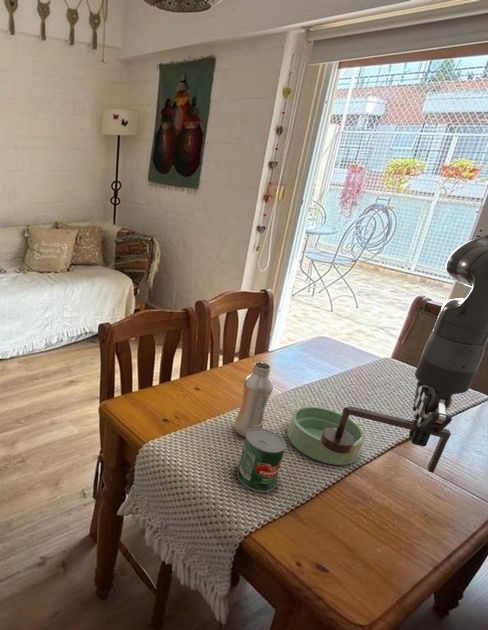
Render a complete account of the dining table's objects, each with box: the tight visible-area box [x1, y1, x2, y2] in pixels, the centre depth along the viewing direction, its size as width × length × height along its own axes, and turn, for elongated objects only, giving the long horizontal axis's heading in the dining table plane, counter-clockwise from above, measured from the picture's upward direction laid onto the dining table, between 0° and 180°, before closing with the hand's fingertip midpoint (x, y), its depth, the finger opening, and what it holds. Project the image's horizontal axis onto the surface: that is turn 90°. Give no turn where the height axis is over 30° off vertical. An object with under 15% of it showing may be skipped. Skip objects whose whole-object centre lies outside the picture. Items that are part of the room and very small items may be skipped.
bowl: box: [286, 405, 366, 466], centre depth 108 cm, size 16×16×6 cm
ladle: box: [321, 405, 452, 474], centre depth 85 cm, size 19×6×9 cm, turn 63°
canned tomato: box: [236, 428, 287, 493], centre depth 95 cm, size 8×8×11 cm
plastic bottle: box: [234, 361, 274, 438], centre depth 108 cm, size 6×7×20 cm
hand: (416, 440), depth 82 cm, fingers closed on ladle, 1 cm apart
